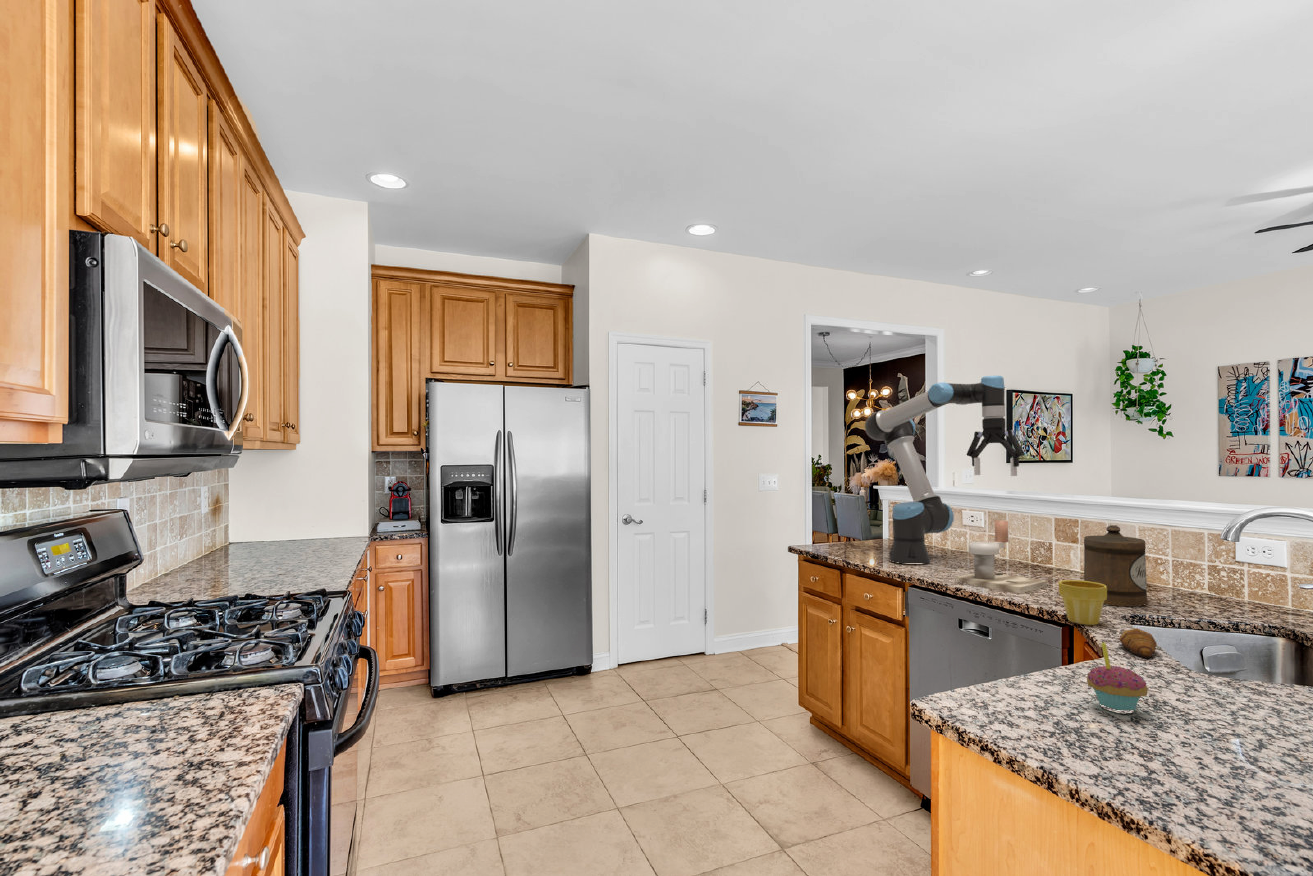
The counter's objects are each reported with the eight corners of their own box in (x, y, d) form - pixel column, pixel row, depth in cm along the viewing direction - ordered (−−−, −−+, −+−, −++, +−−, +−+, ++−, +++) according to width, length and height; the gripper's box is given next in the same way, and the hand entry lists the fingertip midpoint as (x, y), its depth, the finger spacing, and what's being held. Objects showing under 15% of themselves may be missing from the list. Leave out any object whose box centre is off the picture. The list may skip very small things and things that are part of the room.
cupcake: (1103, 718, 106) (1101, 646, 107) (1077, 698, 115) (1075, 631, 115) (1160, 720, 105) (1157, 647, 105) (1129, 700, 114) (1127, 632, 114)
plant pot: (1093, 616, 169) (1091, 579, 169) (1117, 627, 158) (1116, 588, 159) (1051, 616, 170) (1050, 579, 170) (1073, 627, 160) (1072, 587, 160)
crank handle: (989, 555, 205) (988, 525, 205) (963, 552, 212) (962, 523, 213) (1018, 550, 214) (1017, 521, 214) (992, 547, 222) (991, 519, 222)
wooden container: (1153, 609, 175) (1150, 529, 176) (1088, 604, 182) (1086, 527, 182) (1141, 597, 188) (1138, 523, 189) (1081, 593, 195) (1079, 521, 196)
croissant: (1167, 662, 133) (1166, 638, 133) (1128, 658, 136) (1127, 635, 136) (1147, 644, 146) (1146, 622, 146) (1111, 640, 148) (1111, 619, 148)
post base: (956, 582, 213) (955, 552, 213) (983, 576, 222) (982, 548, 222) (1020, 594, 196) (1019, 561, 196) (1047, 587, 204) (1046, 556, 204)
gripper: (1034, 416, 226) (1035, 475, 225) (967, 419, 247) (968, 474, 246) (1022, 415, 222) (1024, 476, 221) (956, 419, 243) (957, 475, 242)
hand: (995, 475), depth 234 cm, fingers open, 13 cm apart
